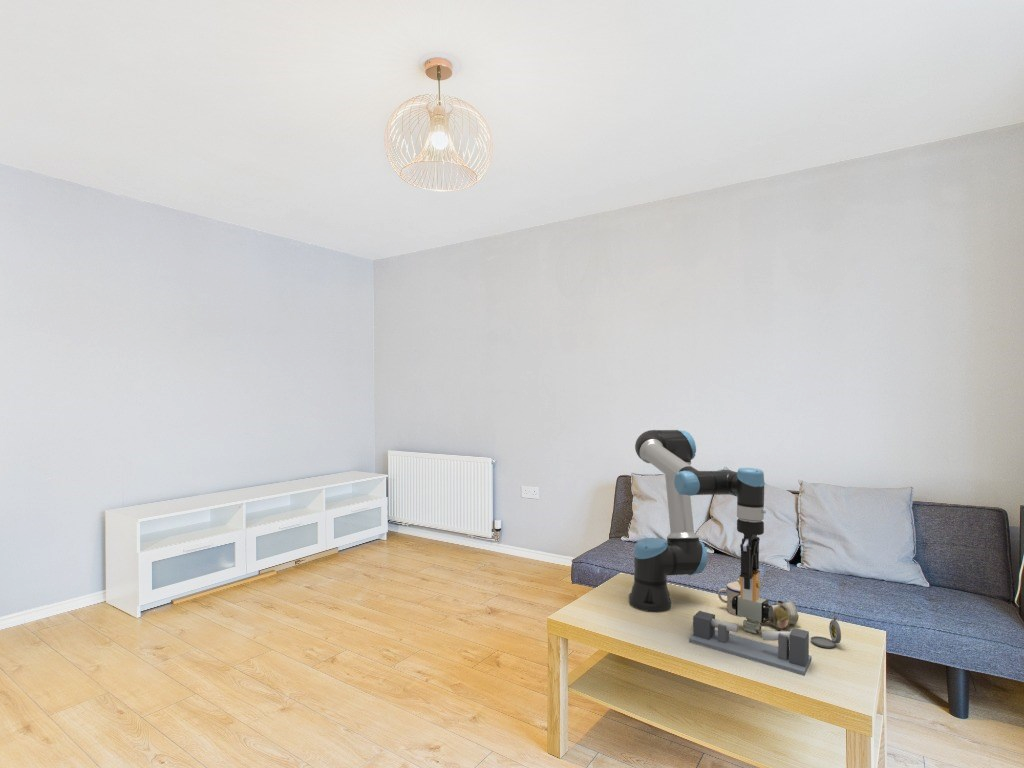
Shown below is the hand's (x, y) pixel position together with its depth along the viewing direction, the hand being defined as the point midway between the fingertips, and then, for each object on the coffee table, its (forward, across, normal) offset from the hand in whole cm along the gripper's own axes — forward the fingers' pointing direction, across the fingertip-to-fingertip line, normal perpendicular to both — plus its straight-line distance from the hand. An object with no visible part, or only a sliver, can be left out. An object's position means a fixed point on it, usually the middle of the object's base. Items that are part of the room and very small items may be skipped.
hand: (749, 596), depth 163 cm
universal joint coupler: (0, 0, 0) cm, 0 cm away
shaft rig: (+16, 0, 0) cm, 16 cm away
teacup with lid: (+16, +30, +12) cm, 36 cm away
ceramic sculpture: (+16, +26, -3) cm, 31 cm away
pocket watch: (+16, +20, -18) cm, 32 cm away
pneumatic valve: (+16, +16, +3) cm, 23 cm away
